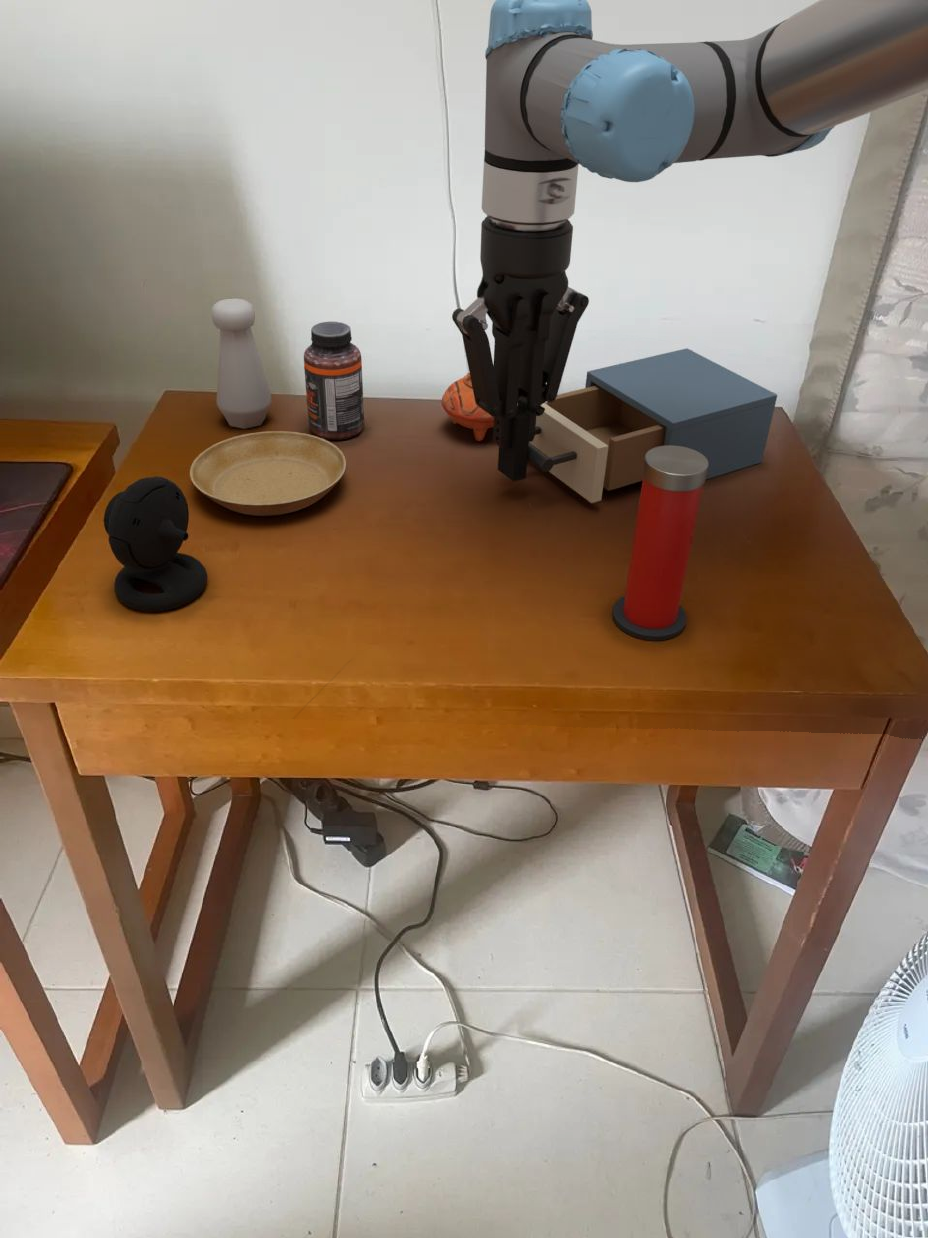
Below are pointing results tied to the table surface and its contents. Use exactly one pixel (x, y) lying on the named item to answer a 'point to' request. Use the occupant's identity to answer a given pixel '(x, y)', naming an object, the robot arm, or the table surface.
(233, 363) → the salt shaker
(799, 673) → the table surface
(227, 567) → the table surface
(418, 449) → the table surface
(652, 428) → the drawer
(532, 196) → the robot arm
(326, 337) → the supplement bottle
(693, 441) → the cabinet
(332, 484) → the plant saucer
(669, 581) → the disc
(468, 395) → the pot
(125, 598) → the webcam
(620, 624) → the coaster
